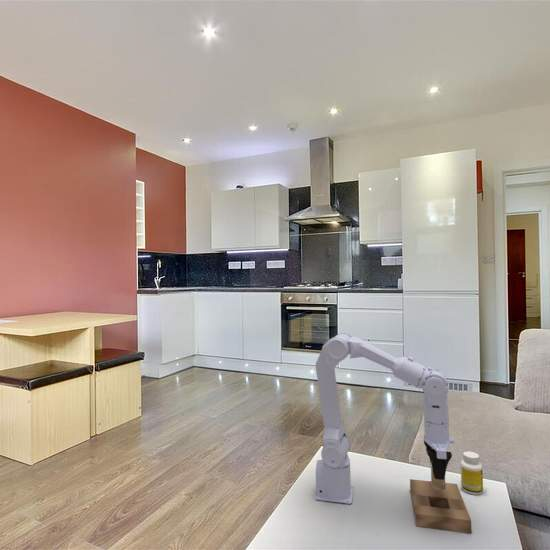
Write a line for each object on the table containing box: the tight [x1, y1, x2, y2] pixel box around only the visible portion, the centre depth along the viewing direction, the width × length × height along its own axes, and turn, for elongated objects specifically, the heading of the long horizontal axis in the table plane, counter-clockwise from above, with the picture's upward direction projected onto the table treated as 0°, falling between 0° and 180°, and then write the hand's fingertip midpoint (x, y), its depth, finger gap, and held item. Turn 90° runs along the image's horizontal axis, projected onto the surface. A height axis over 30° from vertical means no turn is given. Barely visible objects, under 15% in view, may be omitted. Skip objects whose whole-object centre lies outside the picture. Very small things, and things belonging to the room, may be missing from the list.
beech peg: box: [430, 448, 446, 490], centre depth 95 cm, size 3×3×9 cm
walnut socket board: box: [409, 478, 472, 534], centre depth 97 cm, size 12×16×3 cm
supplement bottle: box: [460, 451, 484, 496], centre depth 105 cm, size 5×5×10 cm
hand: (438, 474), depth 95 cm, fingers closed on beech peg, 3 cm apart
